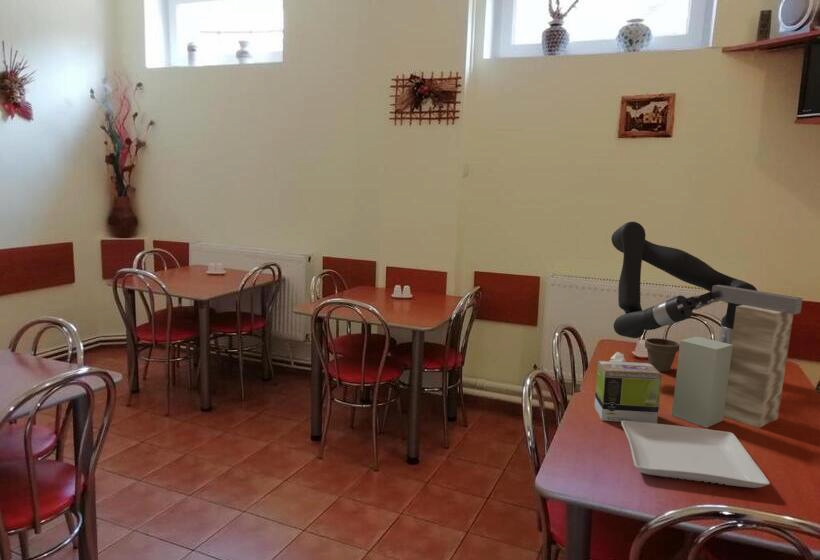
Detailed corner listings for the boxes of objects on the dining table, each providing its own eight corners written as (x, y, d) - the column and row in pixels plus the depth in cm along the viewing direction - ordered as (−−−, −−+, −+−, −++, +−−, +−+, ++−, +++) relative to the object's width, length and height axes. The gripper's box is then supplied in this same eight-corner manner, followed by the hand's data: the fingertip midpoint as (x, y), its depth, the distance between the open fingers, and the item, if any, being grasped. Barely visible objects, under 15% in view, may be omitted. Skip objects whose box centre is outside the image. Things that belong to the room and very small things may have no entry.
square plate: (730, 444, 150) (732, 430, 149) (769, 500, 124) (772, 483, 123) (619, 431, 156) (620, 417, 155) (633, 481, 130) (635, 464, 129)
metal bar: (717, 297, 175) (719, 284, 174) (800, 312, 157) (802, 298, 157) (710, 299, 172) (712, 285, 172) (794, 314, 155) (796, 299, 154)
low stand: (688, 408, 172) (697, 336, 169) (722, 420, 165) (732, 344, 161) (671, 415, 167) (680, 340, 163) (706, 427, 159) (716, 349, 155)
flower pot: (639, 362, 216) (642, 336, 215) (672, 365, 214) (675, 338, 213) (645, 372, 205) (648, 344, 204) (680, 375, 203) (683, 347, 201)
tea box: (646, 411, 169) (651, 362, 167) (657, 425, 160) (663, 373, 157) (593, 407, 171) (597, 358, 168) (600, 421, 161) (605, 369, 158)
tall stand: (741, 407, 175) (755, 302, 170) (777, 418, 167) (794, 309, 162) (721, 415, 168) (736, 306, 163) (758, 428, 160) (775, 313, 155)
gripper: (655, 302, 181) (703, 283, 169) (679, 297, 189) (727, 279, 177) (664, 325, 179) (713, 308, 167) (688, 319, 188) (737, 303, 175)
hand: (720, 293), depth 172 cm, fingers open, 8 cm apart
